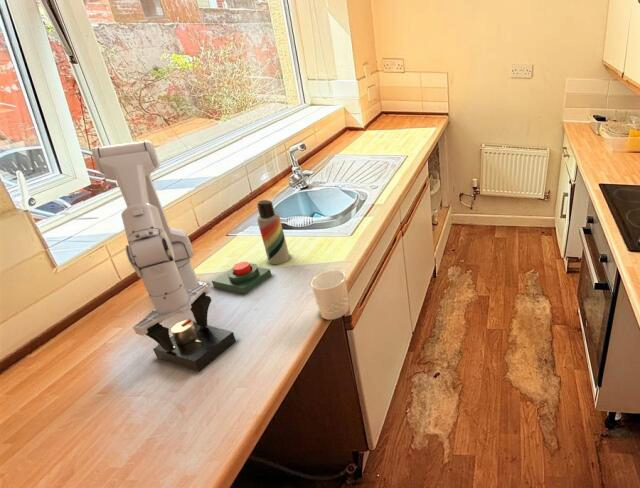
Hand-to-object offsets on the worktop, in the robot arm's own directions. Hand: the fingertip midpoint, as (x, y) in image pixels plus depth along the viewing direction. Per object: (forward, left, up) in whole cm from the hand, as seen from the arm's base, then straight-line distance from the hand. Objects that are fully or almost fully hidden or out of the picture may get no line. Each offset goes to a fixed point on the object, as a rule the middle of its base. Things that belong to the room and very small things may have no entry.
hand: (186, 337), depth 90 cm
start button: (-9, +23, 0) cm, 25 cm away
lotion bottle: (-9, +35, -4) cm, 36 cm away
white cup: (+23, +20, -4) cm, 31 cm away
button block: (-10, +23, -3) cm, 25 cm away
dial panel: (+2, 0, -3) cm, 4 cm away
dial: (0, 0, 0) cm, 0 cm away
